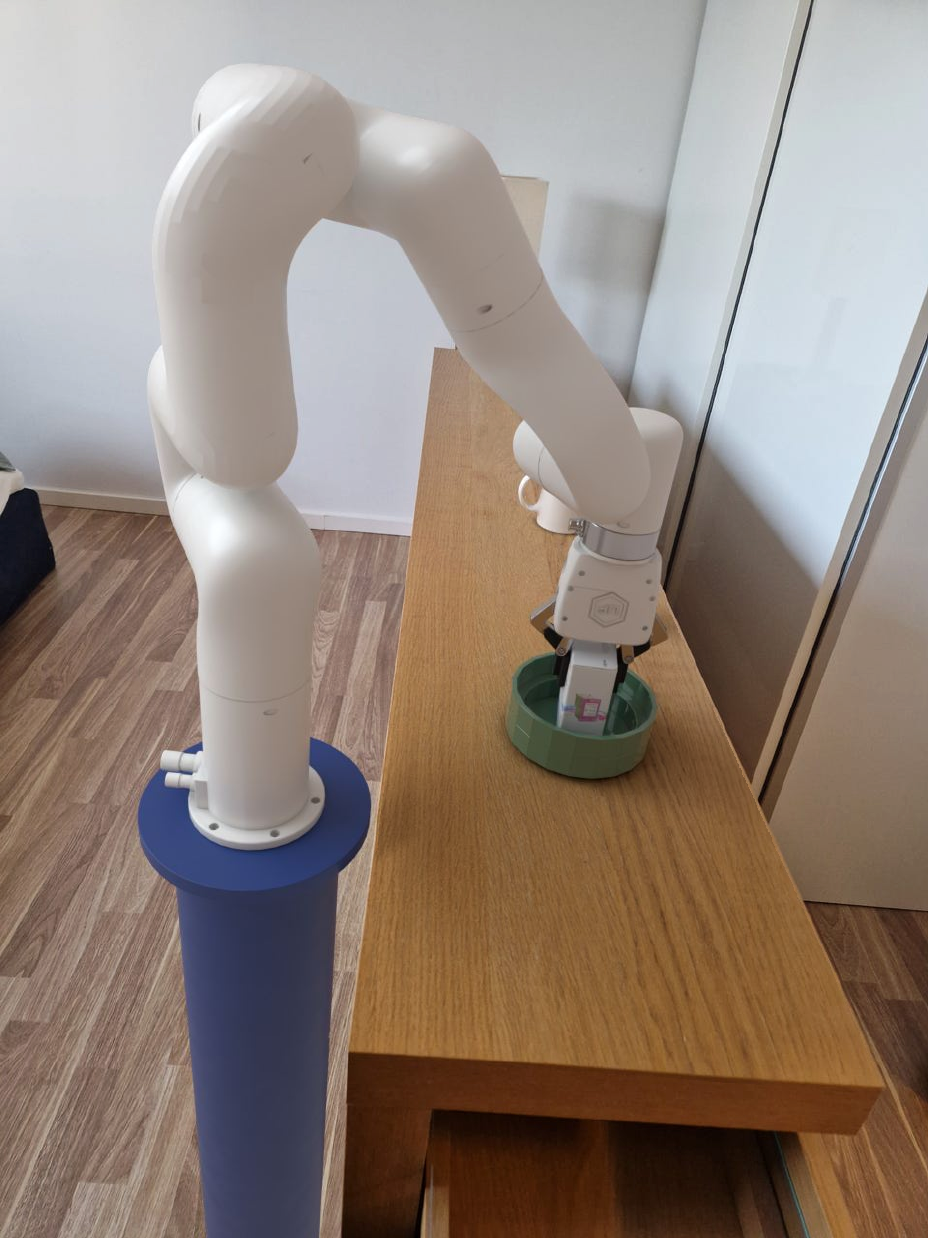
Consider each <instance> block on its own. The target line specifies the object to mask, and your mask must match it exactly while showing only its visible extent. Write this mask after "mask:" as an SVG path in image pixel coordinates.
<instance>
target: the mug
mask: <svg viewBox="0 0 928 1238" xmlns="http://www.w3.org/2000/svg"><path fill="white" fill-rule="evenodd" d="M531 480H532V479H530V478H529V477H528V476H527V475H526V474H525V476H524V477H523V478H522V479H521V481H520V483H519V486H518V495H517V496H518V500H519V502H520V504H521V506H522V507H523V508H524V509H525V510H527V511H529V512H531V513H537V514H536V522H537V524H538V526H539V527H541V528H543V529H544V530H547V531H550V532H553V533H557V534H564V535H566V534H569V535H571V534H576V533H575V532H570V531H568V523H569V519H570V518H574V519H577V518H581V517H580V516H579V515H577V514H576V513H575V512H574V511H572V510H571V509H570V508H569V507H567V506H566V505H565V504H563V503H562V502H561V501H560V500H558V499H557V498H556V497H554V496H553V495H551V494H550V493H549V492H547V491H546V490H544V489H543V488H542V487H541V490H540V495H539V497H538V501H537V502H536V503H535V504H532V505H531V504H527V503H526V502H525V501H524V497H523V496H524V495H523V494H524V489H525V486H526V485H527V484H528V482H529V481H531Z"/></svg>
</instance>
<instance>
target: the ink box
mask: <svg viewBox="0 0 928 1238" xmlns="http://www.w3.org/2000/svg"><path fill="white" fill-rule="evenodd" d="M616 648H617V644H610V643H601V642H593V641H585V640H577V639H575V640H574V642H573V643H572V645H571V647H570V648H569V650H570V663H569V668H568V672H567V677H566V682H565V686H563V687H561V688H560V693H559V698H558V703H557V717H556V727H559V728H562V729H565V730H569V731H572V732H575V733H578V734H586V735H594V736H602V734H603V730H604V726H605V721H606V717H607V712H608V708H609V704H610V699H611V695H612V691H613V686H614V682H615V678H616V674H617V667H618V666H617V652H616Z"/></svg>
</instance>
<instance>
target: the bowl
mask: <svg viewBox="0 0 928 1238" xmlns="http://www.w3.org/2000/svg"><path fill="white" fill-rule="evenodd" d="M554 655H555V651H550V652H549V651H548V652H545V653H542V654H539V655H535V656H532V657H530V658H528V659H527V660H525V661H524V662H522V663H521V664H519V665H518V667H517V668H516V670H515V672H514V673H513V675H512V677H511V680H510V681H511V683H510V687H509V692H508V697H507V705H506V710H505V731H506V732H507V734H508V737H509V739H510V741H511V743H512V744H513V745H514V747H516V749H518V751H520V752H521V754H523V756H525V757H526V758H527V759H529V760H530V761H532V762H534V763H536V764H537V765H539V766H541V767H543V768H544V769H546V770H549V771H551V772H555V773H558V774H561V775H564V776H567V777H574V778H581V779H592V780H594V779H595V780H596V779H604V778H612V777H617V776H619V775H622V774H624V773H626V772H628V771H629V772H630V771H631V770H633V769H634V768H635V767H636V766H637V765H638V764H639V763H640V762H641V761H643V759H644V757H645V754H646V751H647V748H648V744H649V740H650V737H651V734H652V730H653V728H654V727H653V726H654V723H655V720H656V717H657V713H658V710H659V706H658V703H657V699H656V695H655V693H654V691H653V690H652V688H651V687H650V686H649V684H648V683H647V682H646V680H644V678H642V677H641V676H640V675H638V674H637V673H635V671H634V670H632V669H631V668H629V667H628V670H627V673H626V677H625V681H624V683H619V687H618V691H617V693H612V695H611V699H610V704H609V708H608V712H607V717H606V721H605V726H604V730H603V734H602V736H594V735H586V734H578V733H575V732H572V731H569V730H565V729H562V728H559V727H556V717H557V703H558V698H559V693H560V688H561V687H558V683H557V676H556V675H552V666H553V660H554Z"/></svg>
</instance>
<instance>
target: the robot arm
mask: <svg viewBox="0 0 928 1238" xmlns="http://www.w3.org/2000/svg"><path fill="white" fill-rule="evenodd" d="M190 118H191V121H190V123H191V124H190V131H191V137H192V141H191V142H190V144H189V146H188V147H187V148H186V149H185V151H184V152H183V154H182V156H181V157H180V159H179V160H178V161H177V164H176V166H175V167H174V168H173V170H172V172H171V174H170V176H169V178H168V180H167V182H166V184H165V187H164V189H163V192H162V194H161V197H160V200H159V203H158V205H157V210H156V213H155V217H154V222H153V223H154V224H153V229H152V238H151V266H152V267H151V268H152V277H153V278H152V279H153V287H154V294H155V301H156V308H157V315H158V317H157V318H158V326H159V327H158V328H159V335H160V340H161V345H159V347H158V348H157V350H156V351H155V353H154V355H153V356H152V359H151V362H150V364H149V366H148V370H147V371H148V372H147V378H146V398H147V406H148V411H149V417H150V423H151V428H152V434H153V439H154V445H155V449H156V455H157V460H158V466H159V471H160V475H161V480H162V485H163V490H164V495H165V500H166V504H167V508H168V513H169V517H170V520H171V523H172V527H173V528H174V531H175V533H176V535H177V537H178V539H179V542H180V544H181V546H182V548H183V550H184V553H185V556H186V558H187V560H188V562H189V565H190V567H191V570H192V572H193V575H194V577H195V578H194V579H195V583H196V590H197V598H198V599H197V600H198V611H197V612H198V613H197V623H196V665H197V676H198V686H199V703H200V722H201V738H202V739H201V740H202V741H203V751H198V752H197V754H196V755H195V754H187V753H184V752H182V751H179V750H169V749H165V750H163V751H162V753H161V756H160V761H159V767H160V768H161V770H165V771H174V772H181V771H184V772H192V773H193V774H192V775H184V774H181V773H173V772H168V773H167V775H166V778H165V786H166V787H174V788H189V789H190V793H189V797H188V805H189V813H190V818H191V820H192V822H193V824H194V826H195V827H196V828H197V829H198V831H199V832H200V833H201V834H202V835H204V836H205V837H206V838H208V839H209V840H211V841H213V842H215V843H217V844H219V845H222V846H225V847H229V848H233V849H240V850H263V849H269V848H275V847H278V846H281V845H284V844H287V843H289V842H291V841H294V840H296V839H298V838H299V837H301V836H302V835H304V834H305V833H306V832H308V831H309V830H310V829H311V828H312V827H313V826H314V825H315V824H316V822H317V821H318V819H319V818H320V816H321V814H322V811H323V808H324V801H325V791H324V785H323V782H322V780H321V778H320V776H319V775H318V773H317V772H316V771H315V770H314V769H313V768H312V767H311V766H310V765H309V755H310V737H311V711H312V676H313V675H312V674H313V673H312V670H313V669H312V668H313V667H312V666H313V665H312V662H313V658H312V657H313V638H314V626H315V619H316V613H317V608H318V603H319V601H320V595H321V594H320V593H321V592H322V591H321V589H322V585H323V574H324V573H323V561H322V555H321V551H320V547H319V545H318V542H317V540H316V538H315V535H314V533H313V531H312V530H311V527H310V526H309V524H308V523H307V521H306V520H305V518H304V517H303V515H302V514H301V513H300V511H299V510H298V509H297V507H296V506H295V504H294V503H293V502H292V501H291V499H290V498H289V497H288V496H287V495H286V494H285V492H284V491H283V490H282V488H281V486H280V485H279V484H278V481H277V480H279V478H280V477H282V476H283V475H284V473H285V472H286V471H287V469H288V467H289V466H290V465H291V462H292V460H293V459H294V455H295V454H296V449H297V447H298V446H297V445H298V435H299V421H298V419H299V418H298V410H297V402H296V396H295V387H294V377H293V366H292V357H291V356H292V355H291V346H290V339H289V338H290V336H289V327H288V279H289V274H290V269H291V264H292V262H293V260H294V257H295V254H296V251H297V250H298V248H299V247H300V245H301V244H302V242H303V240H304V239H305V238H306V236H307V235H308V234H309V233H310V231H311V230H312V229H313V228H314V227H315V226H316V225H317V224H318V223H319V222H320V221H321V220H322V219H324V220H328V221H332V222H336V223H340V224H344V225H349V226H352V227H356V228H361V229H365V230H369V231H374V232H377V233H380V234H382V235H384V236H385V237H387V238H390V239H392V240H394V241H396V242H397V243H398V245H399V246H400V247H401V249H402V251H403V253H404V255H405V256H406V258H407V260H408V261H409V263H410V265H411V267H412V269H413V270H414V272H415V274H416V276H417V278H418V280H419V281H420V283H421V284H422V286H423V288H424V289H425V290H424V291H426V293H427V295H428V297H429V299H430V300H431V303H432V304H433V306H434V308H435V310H436V312H437V313H438V315H439V317H440V319H441V320H442V323H443V324H444V326H445V329H446V330H447V331H448V334H449V336H450V337H451V340H452V341H453V343H454V345H455V347H456V349H457V351H458V352H459V354H460V355H461V356H462V358H463V360H465V362H466V363H467V364H468V365H469V366H470V368H471V369H472V370H473V372H474V373H475V374H476V375H477V376H478V378H479V379H480V381H482V382H483V383H484V384H485V385H486V386H487V387H488V388H489V389H491V390H492V391H493V392H494V393H495V394H496V395H497V396H498V397H499V398H500V399H501V400H502V401H504V402H505V403H506V404H507V405H508V406H509V407H510V408H511V409H512V410H513V411H514V412H515V413H516V414H518V416H519V417H520V418H521V419H522V421H521V422H520V423H519V425H518V426H517V428H516V430H515V432H514V436H513V439H512V451H513V456H514V459H515V462H516V463H517V465H518V467H519V469H520V470H521V472H522V473H524V474H525V476H526V475H527V476H528V477H529V478H530V479H531V480H532V482H534V483H535V484H536V485H538V486H539V487H540V488H541V489H542V488H543V489H544V490H546V491H547V492H549V493H550V494H551V495H553V496H554V497H556V498H557V499H558V500H560V501H561V502H562V503H563V504H565V505H566V506H567V507H569V508H570V509H571V510H572V511H574V512H575V513H576V514H577V515H579V516H580V517H581V518H577V519H574V518H570V519H569V523H568V531H570V532H575V533H574V534H577V535H576V536H575V537H574V539H573V540H572V543H571V545H570V547H569V550H568V551H567V555H566V557H565V560H564V563H563V565H562V570H561V573H560V576H559V579H558V583H557V587H556V590H555V594H554V595H553V596H551V597H549V599H547V600H546V601H545V602H543V603H542V604H541V605H540V606H538V607H536V609H534V610H533V611H532V612H530V614H529V623H530V625H532V627H533V628H534V629H535V630H537V632H539V633H540V634H541V635H542V636H543V637H544V639H545V640H546V641H547V643H548V644H549V645H550V646H551V647H552V648H553V649H554V652H555V655H554V660H553V666H552V675H556V676H557V683H558V687H563V686H565V682H566V677H567V672H568V668H569V663H570V650H569V648H570V647H571V645H572V643H573V642H574V640H575V639H577V640H585V641H593V642H601V643H610V644H616V645H619V646H618V647H616V652H617V666H618V667H617V674H616V678H615V682H614V686H613V691H612V693H617V691H618V687H619V683H624V681H625V677H626V673H627V670H628V668H629V665H631V664H633V663H634V661H635V658H638V657H639V656H641V655H642V654H644V653H646V652H648V651H649V650H650V649H651V648H652V647H655V646H658V645H660V644H662V643H664V642H665V641H667V640H668V639H669V637H670V636H669V632H668V629H667V627H666V626H665V624H664V622H663V621H662V619H661V618H660V616H659V614H658V612H657V607H658V601H659V595H660V588H661V583H662V582H661V580H662V572H663V571H662V570H663V566H662V565H663V558H662V557H663V556H662V554H661V553H660V550H659V549H658V548H657V546H658V541H659V537H660V534H661V530H662V525H663V523H664V518H665V513H666V510H667V506H668V502H669V498H670V493H671V490H672V486H673V482H674V478H675V475H676V472H677V471H676V470H677V467H678V463H679V458H680V454H681V450H682V447H683V442H684V430H683V427H682V425H681V424H680V423H679V421H678V420H677V419H676V418H674V416H673V417H672V416H671V415H669V414H667V413H664V412H661V411H659V410H655V409H651V408H647V407H646V408H645V407H636V406H635V407H629V405H628V403H627V402H626V400H625V398H624V396H623V395H622V393H621V391H620V389H619V388H618V387H617V385H616V383H615V382H614V380H613V379H612V377H611V376H610V374H609V373H608V371H606V369H605V367H604V366H603V365H602V363H601V362H600V360H598V358H597V356H596V355H595V353H593V351H592V350H591V348H590V347H589V346H588V344H587V343H586V341H585V340H584V338H583V337H582V334H580V332H579V330H578V329H577V327H576V326H575V325H574V324H573V323H572V321H571V320H570V318H569V317H568V316H567V314H565V312H564V311H563V309H562V308H561V307H560V305H559V303H558V301H557V299H556V297H555V296H554V293H553V291H552V289H551V287H550V285H549V282H548V280H547V277H546V275H545V272H544V271H543V269H542V267H541V263H540V262H539V260H538V257H537V255H536V252H535V251H534V248H533V246H532V244H531V241H530V239H529V237H528V234H527V231H526V230H525V228H524V225H523V223H522V221H521V218H520V216H519V213H518V211H517V209H516V207H515V204H514V202H513V200H512V198H511V196H510V193H509V191H508V189H507V186H506V185H505V182H504V180H503V177H502V175H501V173H500V171H499V168H498V167H497V165H496V163H495V161H494V159H493V157H492V155H491V154H490V151H488V149H487V148H486V147H485V145H484V144H483V142H482V141H481V140H479V138H477V137H476V136H475V135H473V133H471V132H469V131H468V130H466V129H464V128H461V127H459V126H457V125H453V124H450V123H446V122H442V121H436V120H431V119H426V118H421V117H417V116H412V115H407V114H402V113H400V112H399V113H398V112H396V111H391V110H388V109H384V108H380V107H377V106H373V105H371V104H367V103H365V102H361V101H358V100H355V99H352V98H349V97H346V96H343V95H342V93H341V92H339V90H337V88H335V87H334V86H333V85H332V84H330V83H329V82H328V81H326V80H325V79H323V78H322V77H321V76H319V75H317V74H314V73H312V72H310V71H307V70H304V69H300V68H296V67H291V66H285V65H276V64H263V63H257V62H239V63H235V64H231V65H227V66H225V67H223V68H221V69H220V70H217V71H216V72H215V73H213V75H211V76H210V77H209V78H208V79H207V80H205V82H204V83H203V85H202V86H201V88H200V89H199V91H198V93H197V95H196V97H195V100H194V101H193V107H192V112H191V117H190ZM552 617H553V623H552V622H550V621H549V619H550V618H552ZM202 741H201V742H202ZM160 768H159V769H160Z"/></svg>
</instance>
